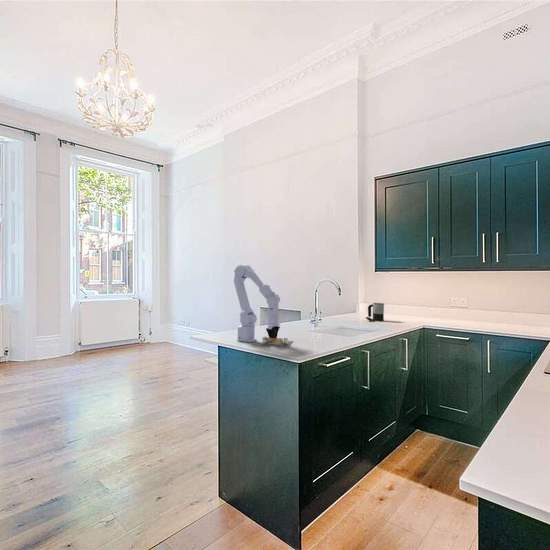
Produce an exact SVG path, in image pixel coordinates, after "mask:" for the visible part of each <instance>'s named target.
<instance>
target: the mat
mask: <svg viewBox="0 0 550 550" xmlns="http://www.w3.org/2000/svg"><path fill="white" fill-rule="evenodd" d="M292 343H294V341H293V340H288V345H287V346H285V345H284V340H283V344H272V343H267V345H263V342H262V343H261V344H260V346H263V347H279V348H288V347H289V346H290V345H291V344H292Z"/></svg>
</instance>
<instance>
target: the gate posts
mask: <svg viewBox="0 0 550 550" xmlns="http://www.w3.org/2000/svg"><path fill="white" fill-rule="evenodd" d="M267 338H268V336H263V337H262V338H261V339H262V343H263V345H267ZM283 341H284V345H285V346H287V345H288V341H289V339H288V338H287V337H284V338H283Z"/></svg>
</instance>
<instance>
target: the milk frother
mask: <svg viewBox="0 0 550 550" xmlns="http://www.w3.org/2000/svg"><path fill="white" fill-rule="evenodd" d="M384 308H385V303H383V302H373V303H372V304H369V305H368V307H367V316H365V319H366V320H368V321H369V322H384V321H385V320H384V319H385V317H384V316H385V315H384V313H385V309H384ZM371 317H372V318H371Z"/></svg>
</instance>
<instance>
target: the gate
mask: <svg viewBox="0 0 550 550" xmlns="http://www.w3.org/2000/svg"><path fill="white" fill-rule="evenodd" d="M283 341H284V338H281V337H280V338H279V337H277V338H269V337H267V343H272V344H283Z"/></svg>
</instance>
